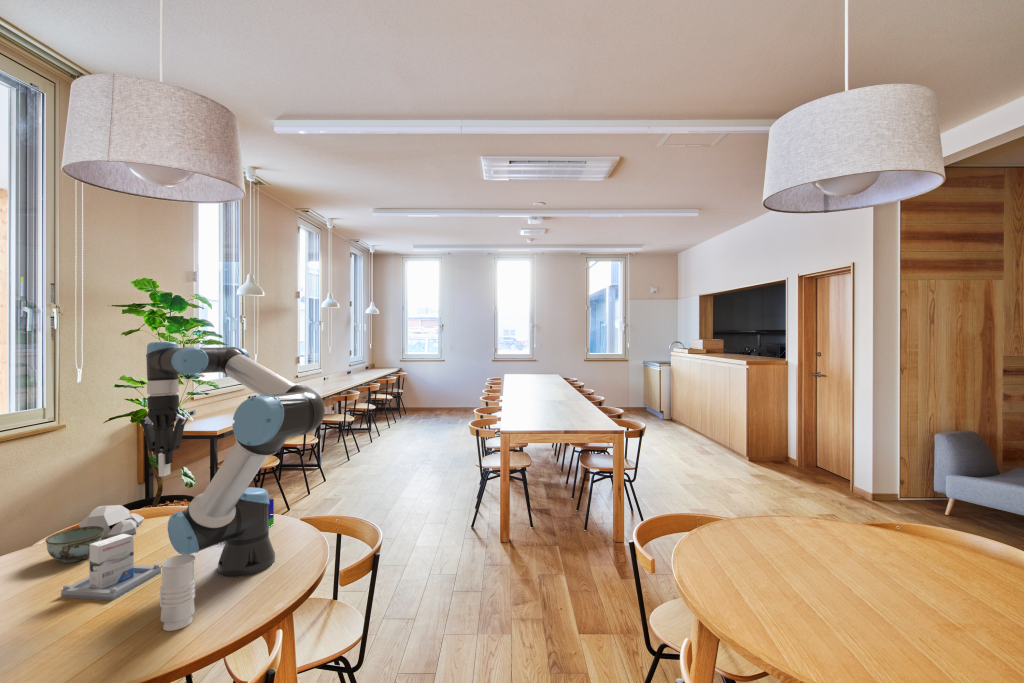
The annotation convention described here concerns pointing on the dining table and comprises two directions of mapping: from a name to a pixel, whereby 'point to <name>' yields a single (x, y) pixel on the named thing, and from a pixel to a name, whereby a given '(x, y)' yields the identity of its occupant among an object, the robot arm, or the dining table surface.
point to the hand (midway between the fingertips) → (164, 475)
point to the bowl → (73, 543)
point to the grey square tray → (113, 591)
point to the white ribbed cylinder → (177, 592)
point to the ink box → (111, 561)
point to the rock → (113, 520)
